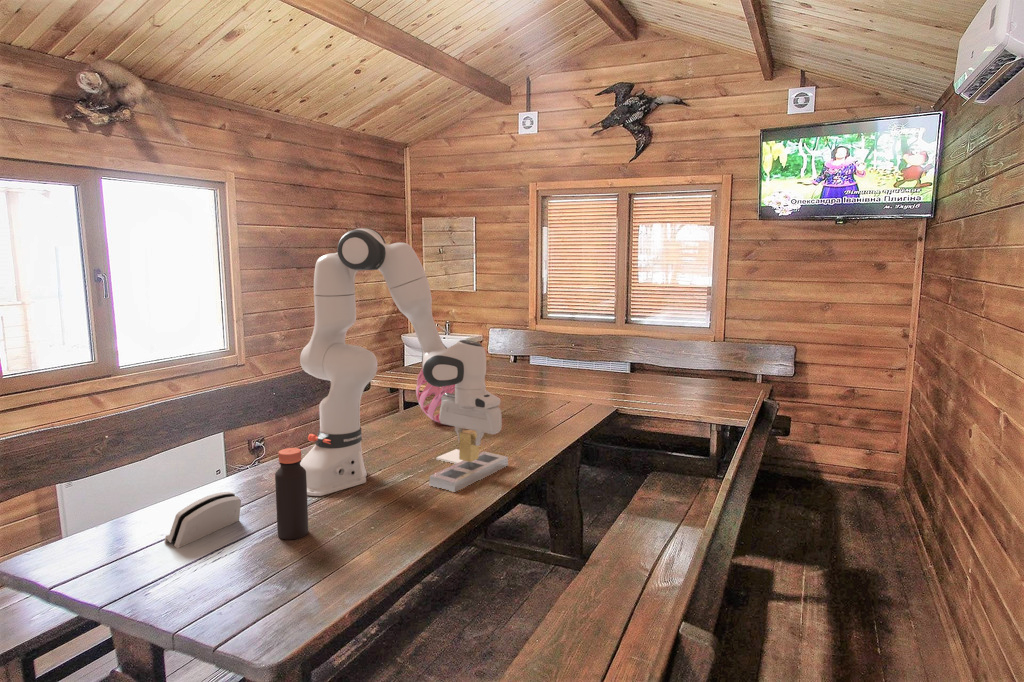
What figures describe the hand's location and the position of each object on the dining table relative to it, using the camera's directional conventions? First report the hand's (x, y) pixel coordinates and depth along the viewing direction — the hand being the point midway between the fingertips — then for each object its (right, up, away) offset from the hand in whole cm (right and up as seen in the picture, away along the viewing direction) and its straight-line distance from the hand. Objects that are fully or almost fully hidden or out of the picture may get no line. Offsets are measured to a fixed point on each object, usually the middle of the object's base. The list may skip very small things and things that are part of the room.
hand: (469, 443), depth 188 cm
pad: (-4, -7, +16) cm, 19 cm away
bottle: (-38, -15, -37) cm, 56 cm away
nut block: (0, -5, +1) cm, 5 cm away
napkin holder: (-59, -15, -37) cm, 71 cm away
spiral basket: (-11, -1, +60) cm, 61 cm away
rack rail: (0, -10, +2) cm, 10 cm away
